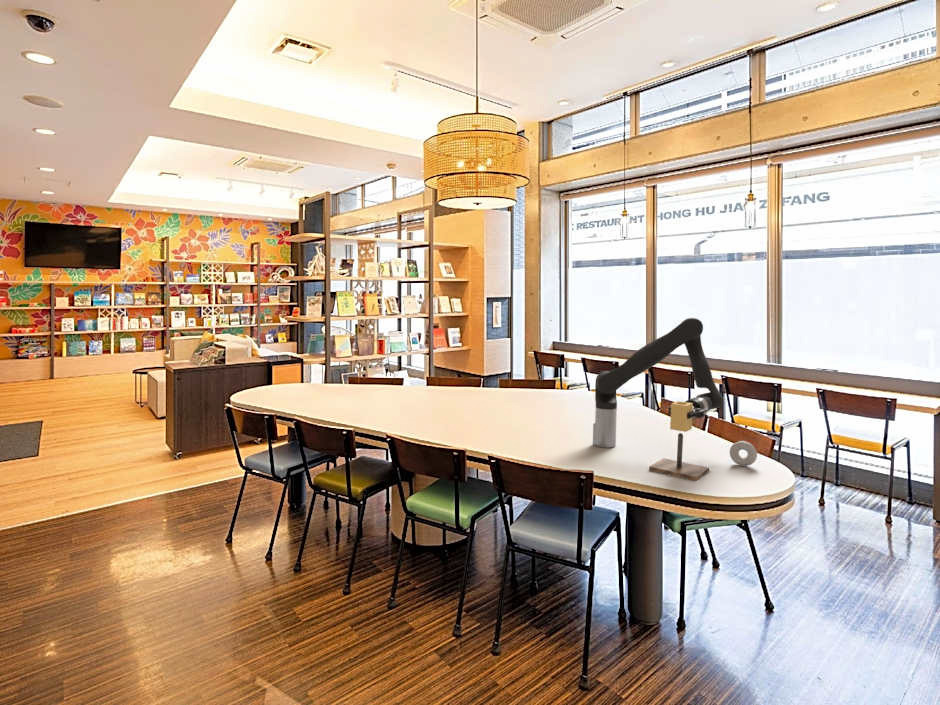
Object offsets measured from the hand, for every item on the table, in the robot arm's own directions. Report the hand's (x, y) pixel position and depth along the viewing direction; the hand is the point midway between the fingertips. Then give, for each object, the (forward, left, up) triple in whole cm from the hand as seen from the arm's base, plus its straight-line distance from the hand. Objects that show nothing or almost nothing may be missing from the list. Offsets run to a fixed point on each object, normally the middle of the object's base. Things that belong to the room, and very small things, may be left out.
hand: (679, 414), depth 212 cm
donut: (+16, +25, -23) cm, 38 cm away
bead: (0, +2, -6) cm, 6 cm away
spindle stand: (0, +2, -23) cm, 23 cm away
